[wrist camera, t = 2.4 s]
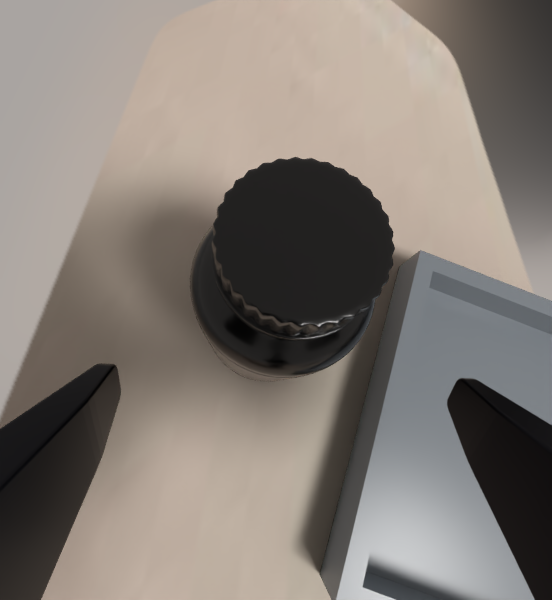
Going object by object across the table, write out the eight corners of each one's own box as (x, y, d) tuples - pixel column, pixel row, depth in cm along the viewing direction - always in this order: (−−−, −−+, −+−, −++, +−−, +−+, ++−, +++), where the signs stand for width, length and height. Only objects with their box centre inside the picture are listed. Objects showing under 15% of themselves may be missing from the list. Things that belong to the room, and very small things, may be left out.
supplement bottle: (189, 297, 20) (126, 162, 8) (290, 256, 21) (355, 93, 10) (236, 405, 18) (239, 424, 7) (340, 353, 20) (484, 296, 8)
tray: (646, 695, 17) (718, 747, 14) (319, 574, 17) (334, 606, 14) (646, 361, 22) (698, 357, 20) (399, 266, 22) (420, 250, 19)
